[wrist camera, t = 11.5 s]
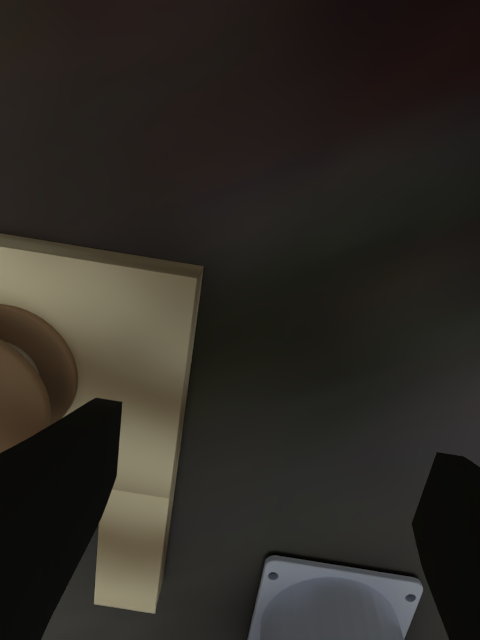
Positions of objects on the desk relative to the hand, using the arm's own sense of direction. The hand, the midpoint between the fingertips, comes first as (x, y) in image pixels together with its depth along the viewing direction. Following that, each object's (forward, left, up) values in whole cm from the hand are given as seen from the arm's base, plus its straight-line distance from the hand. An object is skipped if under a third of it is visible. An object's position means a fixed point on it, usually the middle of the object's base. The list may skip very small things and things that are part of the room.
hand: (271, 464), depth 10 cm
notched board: (-7, +10, -9) cm, 15 cm away
